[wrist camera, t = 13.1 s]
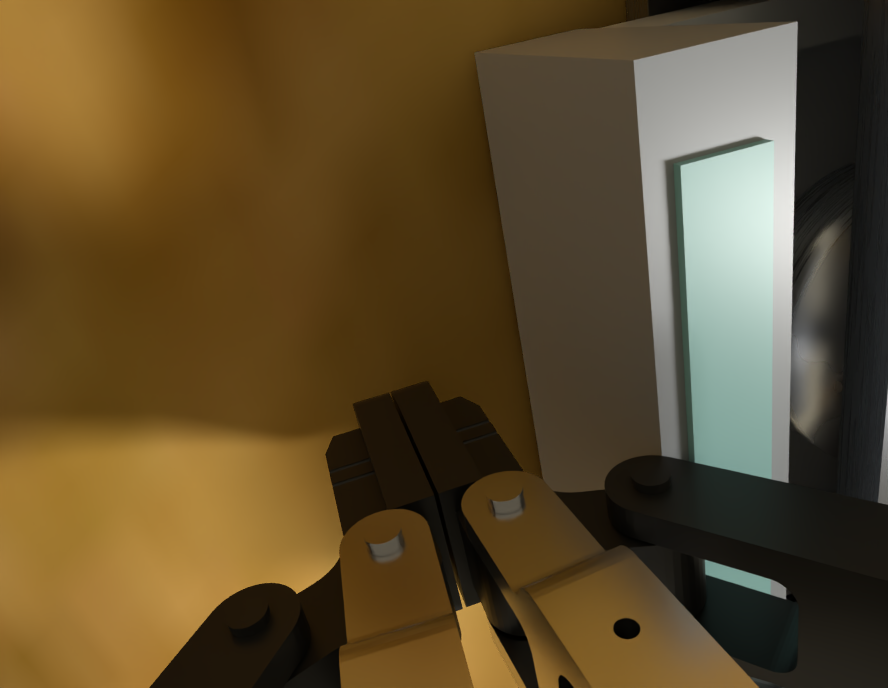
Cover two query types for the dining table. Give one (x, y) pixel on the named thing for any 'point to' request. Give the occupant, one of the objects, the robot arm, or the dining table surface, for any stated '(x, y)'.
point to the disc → (820, 307)
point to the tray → (668, 230)
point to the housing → (857, 267)
